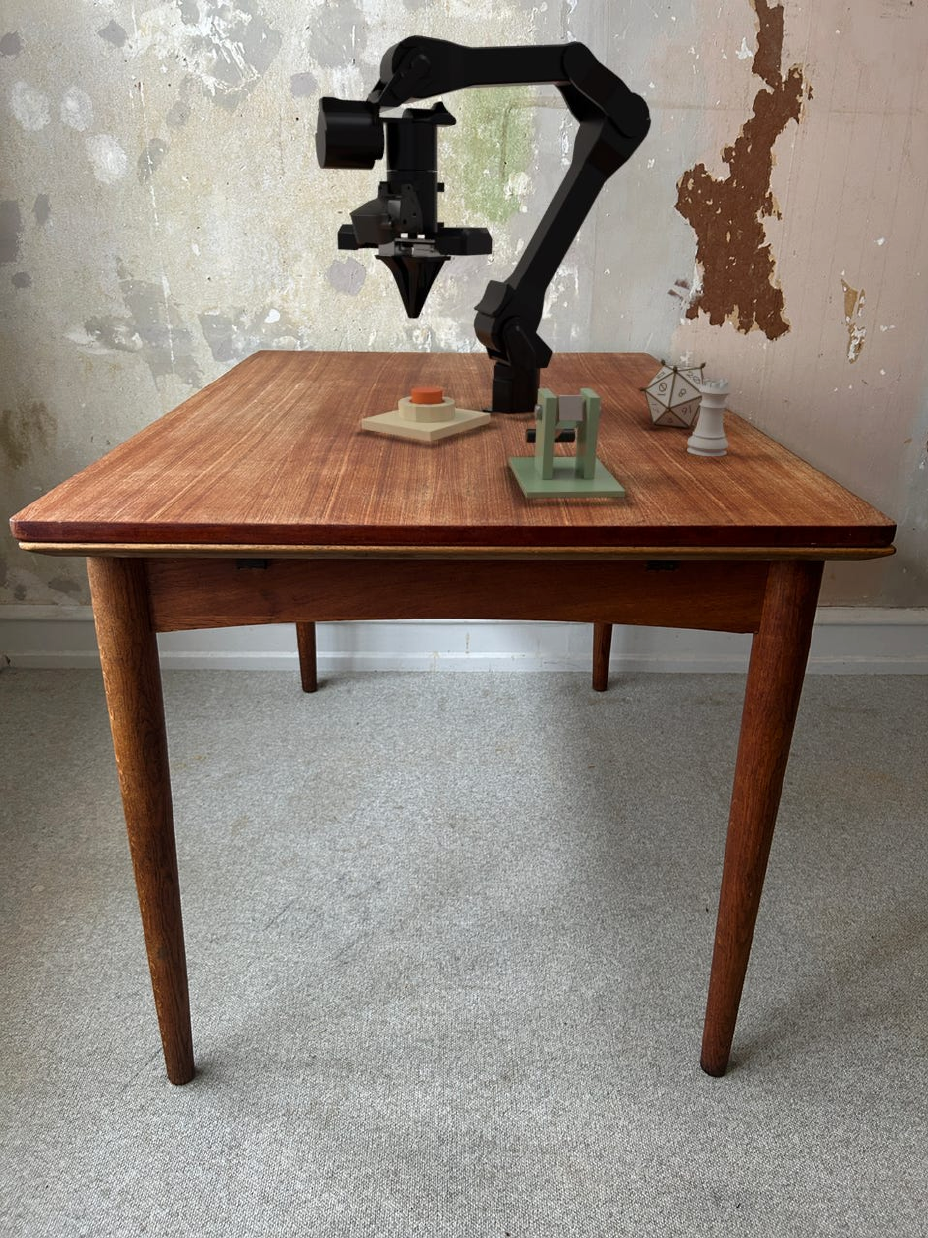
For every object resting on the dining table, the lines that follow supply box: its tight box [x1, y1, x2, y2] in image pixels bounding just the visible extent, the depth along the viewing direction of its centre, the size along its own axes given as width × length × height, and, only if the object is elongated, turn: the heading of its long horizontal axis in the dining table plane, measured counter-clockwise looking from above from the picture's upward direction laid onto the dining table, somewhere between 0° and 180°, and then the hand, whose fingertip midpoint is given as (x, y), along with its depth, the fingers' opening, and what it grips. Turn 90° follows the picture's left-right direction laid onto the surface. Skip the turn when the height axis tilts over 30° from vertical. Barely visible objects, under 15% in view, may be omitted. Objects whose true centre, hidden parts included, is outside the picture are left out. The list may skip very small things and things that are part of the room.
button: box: [410, 386, 443, 405], centre depth 104 cm, size 4×4×2 cm
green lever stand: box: [508, 387, 626, 499], centre depth 84 cm, size 12×9×9 cm
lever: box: [524, 394, 583, 444], centre depth 87 cm, size 11×5×2 cm, turn 5°
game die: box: [637, 358, 707, 430], centre depth 106 cm, size 9×8×10 cm
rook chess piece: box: [686, 378, 732, 457], centre depth 94 cm, size 4×4×8 cm
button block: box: [360, 395, 491, 442], centre depth 105 cm, size 12×10×4 cm
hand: (413, 318), depth 106 cm, fingers closed
